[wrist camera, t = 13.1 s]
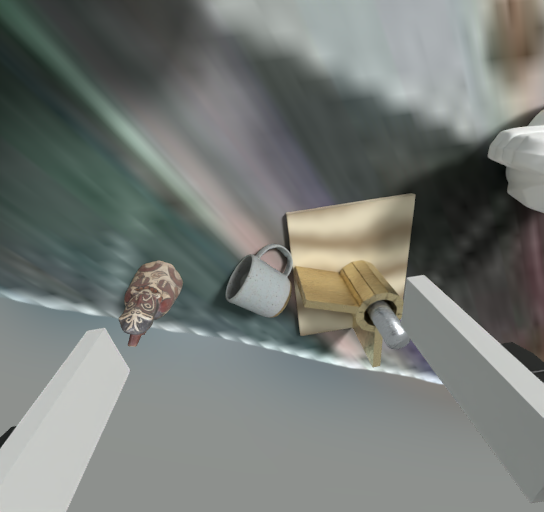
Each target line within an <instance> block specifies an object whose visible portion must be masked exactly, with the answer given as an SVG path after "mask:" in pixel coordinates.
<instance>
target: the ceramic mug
mask: <svg viewBox="0 0 544 512" xmlns="http://www.w3.org/2000/svg"><path fill="white" fill-rule="evenodd" d="M272 248H277V249H279V250H280V251H281V252H282V253H283V254H284V256H285V257H287V267H286V269H285V271H284V273H283V274H282V273H281V272H279V271H278V270H276V269H274V268H272V267H271V266H269V265H268V264H267V263H265V262H264V261H262V260H260V257H261V256H262V255H263V254H264V253H265V252H266V251H267V250H269V249H272ZM292 266H293V259H292V256H291V253H290V252H289V251H288V250H287V249H286V248H285V247H283V246H281V245H278V244H270V245H267V246H265V247H263V248H262V249H261V250H260V251H259V252H258V253H257V254H256V256H254V255H252V254H250V255H247V256H246V257H244V258H243V260H242V261H241V262H240V263H239V264H238V265H237V267H236V268H235V270H234V272H233V274H232V275H231V277H230V280H229V282H228V285H227V289H226V299H227V301H229V302H230V303H233V304H235V305H238V306H240V307H242V308H245V309H247V310H250V311H252V312H254V313H256V314H259V315H261V316H265V317H270V318H272V317H275V316H277V315H279V314H280V313H281V312H282V311H283V310H284V309H285V307H286V306H287V304H288V302H289V300H290V297H291V292H292V286H291V282H290V280H289V279H288V278H287V277H288V275H289V274H290V272H291V269H292Z"/></svg>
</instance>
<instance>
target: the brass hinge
mask: <svg viewBox="0 0 544 512" xmlns="http://www.w3.org/2000/svg"><path fill="white" fill-rule="evenodd" d="M294 275H295V278H296V281H297V285H298V288H299V292H300V295H301V298H302V302H303V305H304V307H306V308H314V309H322V310H330V311H338V312H346V313H352V315H353V329H354V331H355V333H356V335H357V337H358V339H359V341H360V343H361V345H362V347H363V349H364V351H365V353H366V355H367V357H368V359H369V361H370V363H371V365H372V367H377V366H380V362H381V350H382V336H381V334H380V333H379V331H378V329H377V328H376V326H375V325H374V323H373V321H372V320H371V318H370V316H369V315H368V313H367V312H366V309H367V308H368V306H369V305H371V304H372V303H374V302H376V301H378V300H385V301H386V303H387V304H388V305H389V307H390V308H391V309H392V311H393V312H394V313H395V315H396V316H397V317H398V319H399V320H400V319H401V317H402V312H403V303H404V302H403V300H402V299H401V297H400V296H399V295H398V293H397V292H396V291H395V290H394V289H393V288H392V286H391V285H390V284H389V283H388V282H387V280H386V279H385V278H384V277H383V276H382V275H381V273H380V272H379V271H378V270H377V269H376V268H375V266H374V265H373V264H372V263H370V262H367V261H364V260H360V261H353V262H350V263H349V264H347V265H346V266H344V267H343V269H341V271H340V272H333V271H326V270H320V269H313V268H306V267H300V266H295V270H294Z"/></svg>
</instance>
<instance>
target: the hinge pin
mask: <svg viewBox="0 0 544 512" xmlns="http://www.w3.org/2000/svg"><path fill="white" fill-rule="evenodd" d="M366 312H367V313H368V315H369V316H370V318H371V320H372V321H373V323H374V325H375V326H376V328H377V329H378V331H379V333H380V334H381V336H382V338H383V339H384V341H385V342H386V344H387V346H388V347H389V348H391V349H400V348H403V347H404V346H406V345H407V344H408V343H409V342H410V340H411V339H410V337H409V336H408V335H407V333H406V332H405V331H404V329H403V328H402V326H401V321H400V320H399V319H398V317H397V316H396V315H395V313H394V312H393V311H392V309H391V308H390V307H389V305H388V304H387V303H386V301H385V300H378V301H376V302H374V303H372V304H371V305H369V306H368V308H367V309H366Z"/></svg>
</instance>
